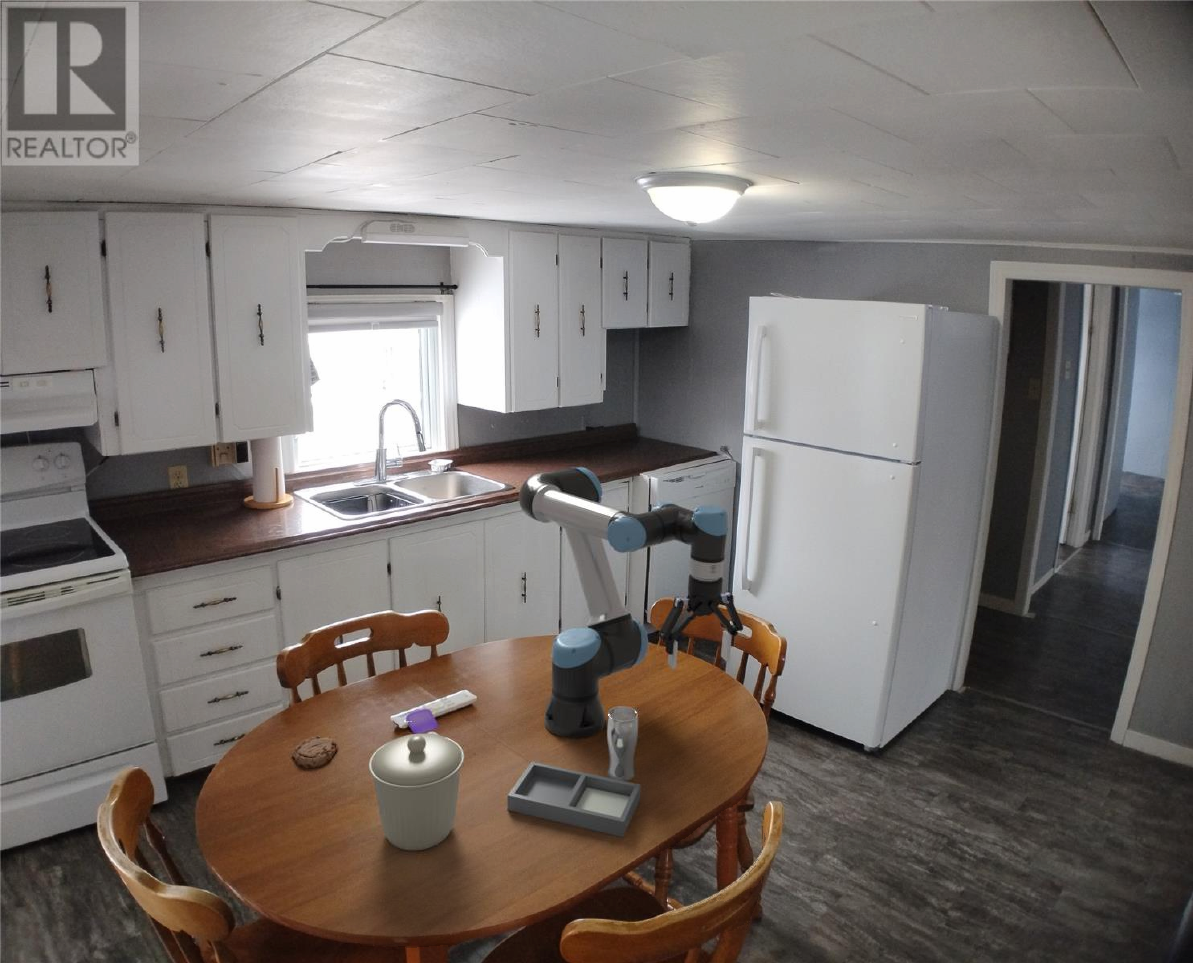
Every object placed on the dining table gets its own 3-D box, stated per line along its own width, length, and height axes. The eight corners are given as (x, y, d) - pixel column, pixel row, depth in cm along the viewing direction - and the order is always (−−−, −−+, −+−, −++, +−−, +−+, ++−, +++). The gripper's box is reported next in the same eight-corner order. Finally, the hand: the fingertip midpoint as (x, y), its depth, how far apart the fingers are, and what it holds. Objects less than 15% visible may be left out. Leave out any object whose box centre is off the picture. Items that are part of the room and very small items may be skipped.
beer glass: (614, 786, 176) (616, 724, 173) (599, 769, 182) (601, 709, 179) (641, 778, 179) (644, 717, 176) (626, 761, 185) (628, 702, 182)
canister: (416, 794, 172) (413, 704, 167) (483, 823, 163) (483, 730, 158) (352, 842, 157) (346, 745, 152) (422, 877, 148) (419, 775, 143)
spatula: (469, 762, 184) (468, 752, 184) (441, 771, 181) (441, 761, 180) (429, 715, 204) (428, 706, 203) (403, 723, 200) (402, 714, 200)
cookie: (296, 773, 178) (295, 761, 178) (290, 749, 188) (289, 737, 187) (342, 762, 183) (342, 750, 182) (334, 739, 192) (333, 728, 191)
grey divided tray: (507, 809, 167) (507, 795, 167) (531, 775, 179) (531, 761, 179) (623, 837, 160) (623, 821, 159) (640, 799, 172) (640, 784, 171)
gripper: (661, 587, 171) (655, 677, 177) (763, 576, 180) (754, 663, 185) (647, 574, 178) (642, 661, 183) (746, 565, 187) (738, 648, 192)
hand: (698, 662), depth 184 cm, fingers open, 13 cm apart
